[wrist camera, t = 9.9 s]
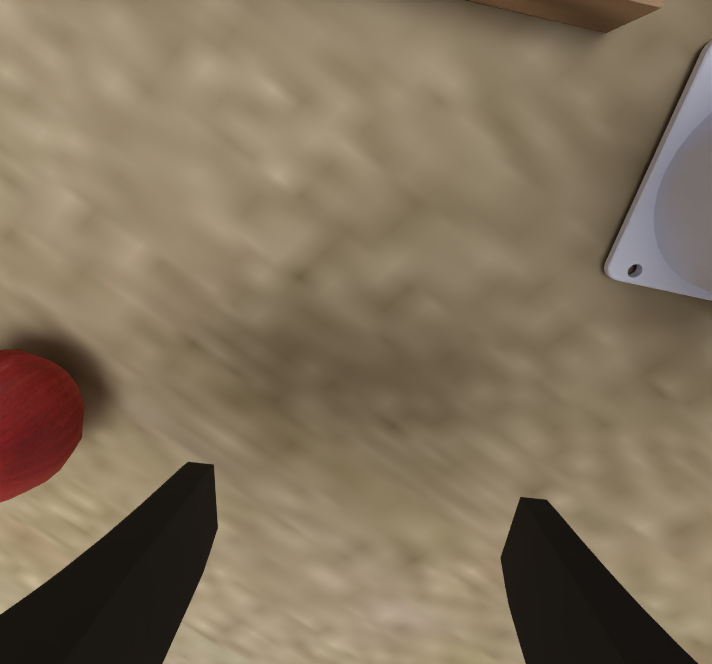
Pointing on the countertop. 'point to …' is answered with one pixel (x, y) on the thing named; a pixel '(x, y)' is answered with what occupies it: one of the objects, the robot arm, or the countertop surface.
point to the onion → (35, 420)
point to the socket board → (582, 11)
